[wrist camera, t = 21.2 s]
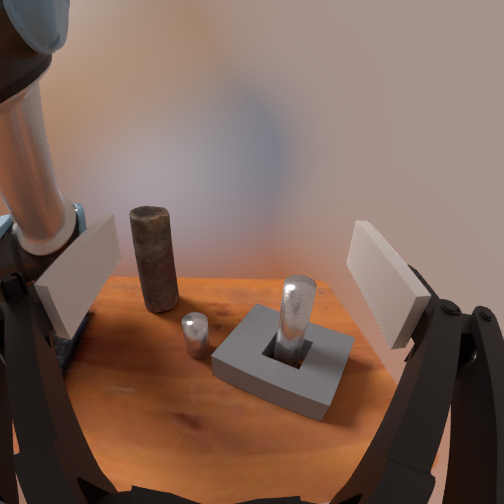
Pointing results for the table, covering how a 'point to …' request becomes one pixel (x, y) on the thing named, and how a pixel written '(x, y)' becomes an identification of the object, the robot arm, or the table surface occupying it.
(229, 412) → the table surface
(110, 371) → the table surface
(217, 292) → the table surface
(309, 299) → the long pin
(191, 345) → the short pin
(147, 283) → the brown textured cylinder
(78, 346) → the table surface
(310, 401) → the guide block
